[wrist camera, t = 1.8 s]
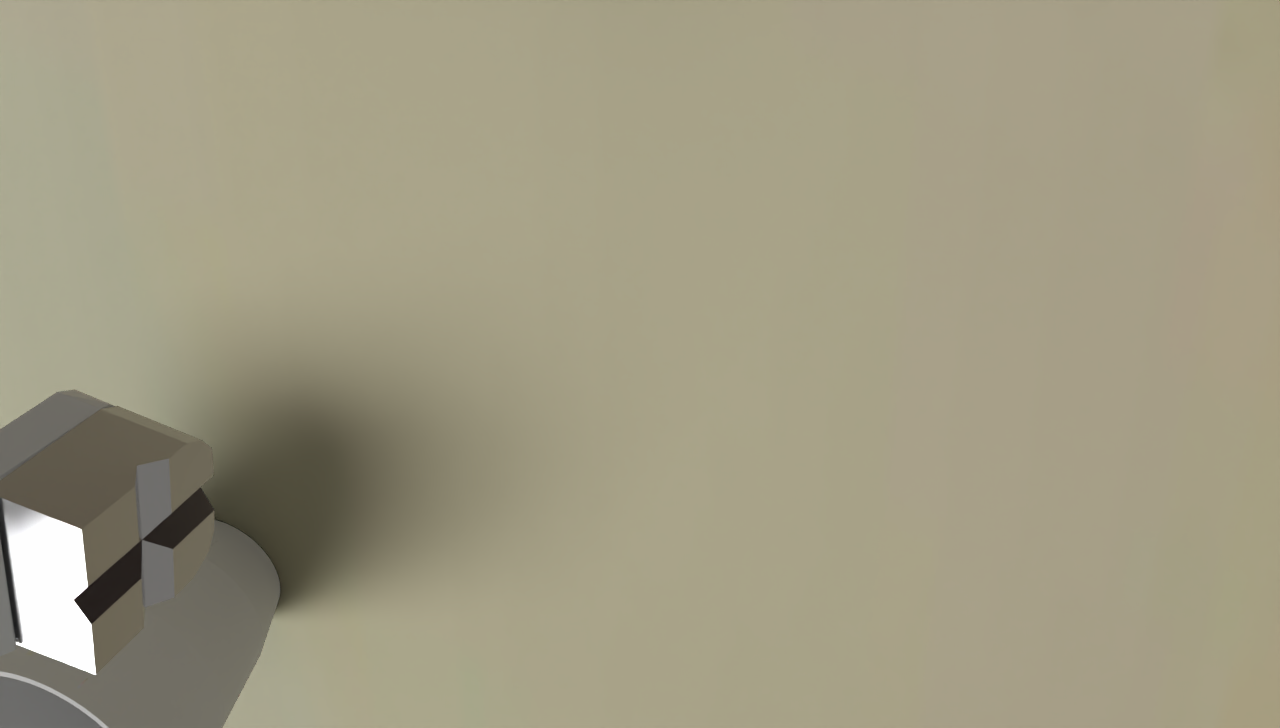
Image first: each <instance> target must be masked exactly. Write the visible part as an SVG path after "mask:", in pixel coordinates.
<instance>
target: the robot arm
mask: <svg viewBox="0 0 1280 728" xmlns="http://www.w3.org/2000/svg"><path fill="white" fill-rule="evenodd" d="M213 475H214V469H213V453H212V448H211V447H210V446H209V445H207V444H206V443H205V442H203V441H202V440H200V439H198V438H195V437H193V436H190V435H188V434H185V433H183V432H181V431H178V430H176V429H173V428H171V427H168V426H166V425H163V424H161V423H158V422H156V421H153V420H151V419H149V418H146V417H144V416H141V415H139V414H136V413H134V412H131V411H129V410H126V409H124V408H121V407H119V406H113V405H111V404H109V403H106V402H104V401H101V400H99V399H97V398H94V397H92V396H89V395H87V394H84V393H82V392H80V391H77V390H68V391H61V392H57V393H55V394H53V395H52V396H50V397H49V398H47V399H46V400H44V401H43V402H41V403H40V404H38V405H37V406H35V407H34V408H32V409H31V410H29V411H27V412H26V413H24V414H23V415H21V416H20V417H18V418H17V419H15V420H14V421H12V422H11V423H9V424H8V425H6V426H5V427H3V428H2V429H0V656H2V655H4V654H7V653H9V652H12V651H14V650H16V648H17V646H16V644H17V645H20V646H22V647H25V648H28V649H30V650H33V651H35V652H38V653H40V654H43V655H46V656H48V657H51V658H53V659H56V660H59V661H61V662H64V663H66V664H69V665H71V666H74V667H77V668H79V669H82V670H84V671H87V672H90V673H92V674H95V675H96V674H97V673H98V672H99V671H100V670H101V669H102V668H103V667H104V666H105V665H107V664H108V663H109V662H110V661H111V660H112V659H113V658H114V657H115V656H116V655H117V654H118V653H119V652H120V651H121V650H122V649H123V648H124V647H125V646H126V645H127V644H128V643H129V642H130V641H131V640H132V639H133V638H134V637H135V636H136V635H137V634H138V633H139V632H140V631H141V630H142V629H143V628H144V619H145V607H148V606H151V605H154V604H157V603H160V602H163V601H166V600H169V599H172V598H175V597H176V596H177V595H178V594H179V593H180V592H181V591H182V590H183V589H184V588H185V586H186V585H187V584H188V583H189V582H190V581H191V580H192V579H193V578H194V577H195V575H196V573H197V571H198V570H199V568H200V566H201V564H202V563H203V561H204V559H205V557H206V556H207V554H208V552H209V549H210V545H211V541H212V537H213V533H214V509H213V507H212V505H211V504H210V502H209V500H208V499H207V497H206V495H205V494H204V492H203V490H202V489H201V486H202V485H203V484H205V483H206V482H207V481H208V480H209V479H210V478H211V477H212V476H213Z"/></svg>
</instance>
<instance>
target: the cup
mask: <svg viewBox="0 0 1280 728" xmlns="http://www.w3.org/2000/svg"><path fill="white" fill-rule="evenodd" d="M279 597H280V581H279V577H278V574H277V571H276V569H275V567H274V565H273V563H272V562H271V560H270V558H269V557H268V556H267V554H266V553H265V552H264V551H263V550H262V548H261V547H260V546H259V545H258V544H257V543H256V542H255V541H253V540H252V539H251V538H250V537H248V536H247V535H246V534H244V533H243V532H241V531H240V530H238V529H236V528H234V527H233V526H230V525H228V524H226V523H223V522H220V521H217V520H214V533H213V537H212V541H211V545H210V549H209V552H208V554H207V556H206V557H205V559H204V561H203V563H202V564H201V566H200V568H199V570H198V571H197V573H196V575H195V577H194V578H193V579H192V580H191V581H190V582H189V583H188V584H187V585H186V586H185V588H184V589H183V590H182V591H181V592H180V593H179V594H178V595H177V596H176V597H175V598H172V599H169V600H166V601H163V602H160V603H157V604H154V605H151V606H148V607H145V619H144V628H143V629H142V630H141V631H140V632H139V633H138V634H137V635H136V636H135V637H134V638H133V639H132V640H131V641H130V642H129V643H128V644H127V645H126V646H125V647H124V648H123V649H122V650H121V651H120V652H119V653H118V654H117V655H116V656H115V657H114V658H113V659H112V660H111V661H110V662H109V663H108V664H107V665H105V666H104V667H103V668H102V669H101V670H100V671H99V672H98V673H97V674H96V675H95V674H92V673H90V672H87V671H84V670H82V669H79V668H77V667H74V666H71V665H69V664H66V663H64V662H61V661H59V660H56V659H53V658H51V657H48V656H46V655H43V654H40V653H38V652H35V651H33V650H30V649H28V648H25V647H22V646H20V645H17V644H16V646H17V648H16V650H14V651H12V652H9V653H7V654H4V655H2V656H0V728H222V727H223V725H224V723H225V722H226V720H227V718H228V716H229V714H230V712H231V710H232V708H233V706H234V704H235V702H236V700H237V699H238V697H239V695H240V693H241V691H242V689H243V687H244V685H245V683H246V681H247V679H248V678H249V676H250V674H251V672H252V670H253V668H254V666H255V664H256V662H257V660H258V658H259V656H260V654H261V651H262V648H263V645H264V642H265V639H266V636H267V633H268V630H269V627H270V624H271V621H272V618H273V615H274V612H275V610H276V607H277V604H278V601H279Z"/></svg>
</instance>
